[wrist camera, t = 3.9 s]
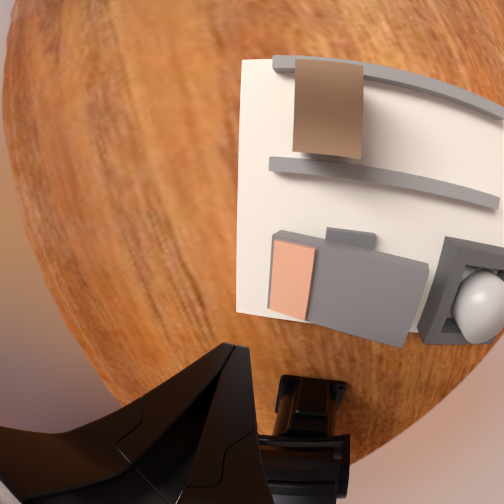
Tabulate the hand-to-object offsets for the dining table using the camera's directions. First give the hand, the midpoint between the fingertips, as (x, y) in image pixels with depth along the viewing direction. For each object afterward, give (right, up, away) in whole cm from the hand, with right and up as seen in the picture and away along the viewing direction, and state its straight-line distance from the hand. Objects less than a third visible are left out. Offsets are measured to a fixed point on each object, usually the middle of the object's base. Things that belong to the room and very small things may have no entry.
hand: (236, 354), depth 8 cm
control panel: (+11, +6, +8) cm, 15 cm away
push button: (+16, 0, +5) cm, 16 cm away
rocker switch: (+6, +1, +7) cm, 9 cm away
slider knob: (+5, +11, +5) cm, 13 cm away
